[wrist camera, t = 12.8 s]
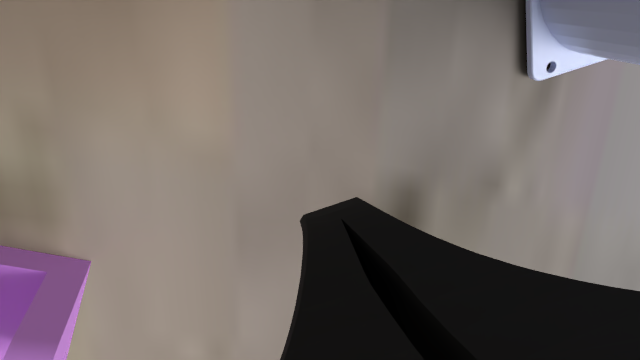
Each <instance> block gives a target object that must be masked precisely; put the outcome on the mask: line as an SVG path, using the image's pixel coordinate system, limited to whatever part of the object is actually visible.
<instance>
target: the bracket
mask: <svg viewBox="0 0 640 360" xmlns="http://www.w3.org/2000/svg"><path fill="white" fill-rule="evenodd" d="M90 264H91V261H87V260H81V259H75V258H69V257H64V256H58V255H52V254H46V253H40V252H35V251H29V250H23V249H17V248H12V247H6V246H0V360H66V359H67V355H68V351H69V347H70V343H71V339H72V335H73V331H74V327H75V323H76V319H77V315H78V311H79V308H80V304H81V300H82V296H83V292H84V288H85V284H86V280H87V276H88V272H89V268H90Z"/></svg>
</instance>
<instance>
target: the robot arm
mask: <svg viewBox="0 0 640 360" xmlns="http://www.w3.org/2000/svg"><path fill="white" fill-rule="evenodd" d="M526 33H527V73H528V76H529V77H530V78H531V79H533V80H537V81H540V80H544V79H547V78H550V77H553V76H557V75H560V74H563V73H566V72H569V71H572V70H575V69H578V68H582V67H585V66H588V65H591V64H594V63H597V62H600V61H603V60H606V59H612V60H617V61H622V62H627V63H632V64H637V65H640V0H526ZM549 63H550V68H549V69H548V70H546V68H547V65H548V64H549ZM300 223H301V227H302V231H303V257H302V269H301V278H300V284H299V289H298V295H297V300H296V306H295V310H294V314H293V319H292V323H291V326H290V330H289V334H288V337H287V340H286V344H285V347H284V350H283V353H282V356H281V359H280V360H640V291H634V290H628V289H621V288H615V287H609V286H604V285H599V284H593V283H588V282H583V281H578V280H573V279H569V278H565V277H560V276H556V275H552V274H547V273H543V272H539V271H535V270H531V269H527V268H523V267H520V266H516V265H513V264H509V263H506V262H503V261H500V260H497V259H493V258H490V257H487V256H484V255H481V254H478V253H475V252H472V251H469V250H466V249H464V248H461V247H459V246H456V245H454V244H451V243H449V242H446V241H444V240H441V239H439V238H436V237H434V236H432V235H430V234H427V233H425V232H423V231H421V230H419V229H416V228H414V227H412V226H410V225H408V224H406V223H404V222H402V221H400V220H398V219H396V218H394V217H393V216H391V215H389V214H387V213H385V212H383V211H381V210H380V209H378V208H376V207H374V206H372V205H370V204H369V203H367V202H365V201H363V200H361V199H359V198H357V197H355V198H353V199H350V200H347V201H344V202H341V203H338V204H335V205H332V206H329V207H326V208H323V209H320V210H317V211H314V212H311V213H308V214H305V215H303V217H302V218H301V220H300Z"/></svg>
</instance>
